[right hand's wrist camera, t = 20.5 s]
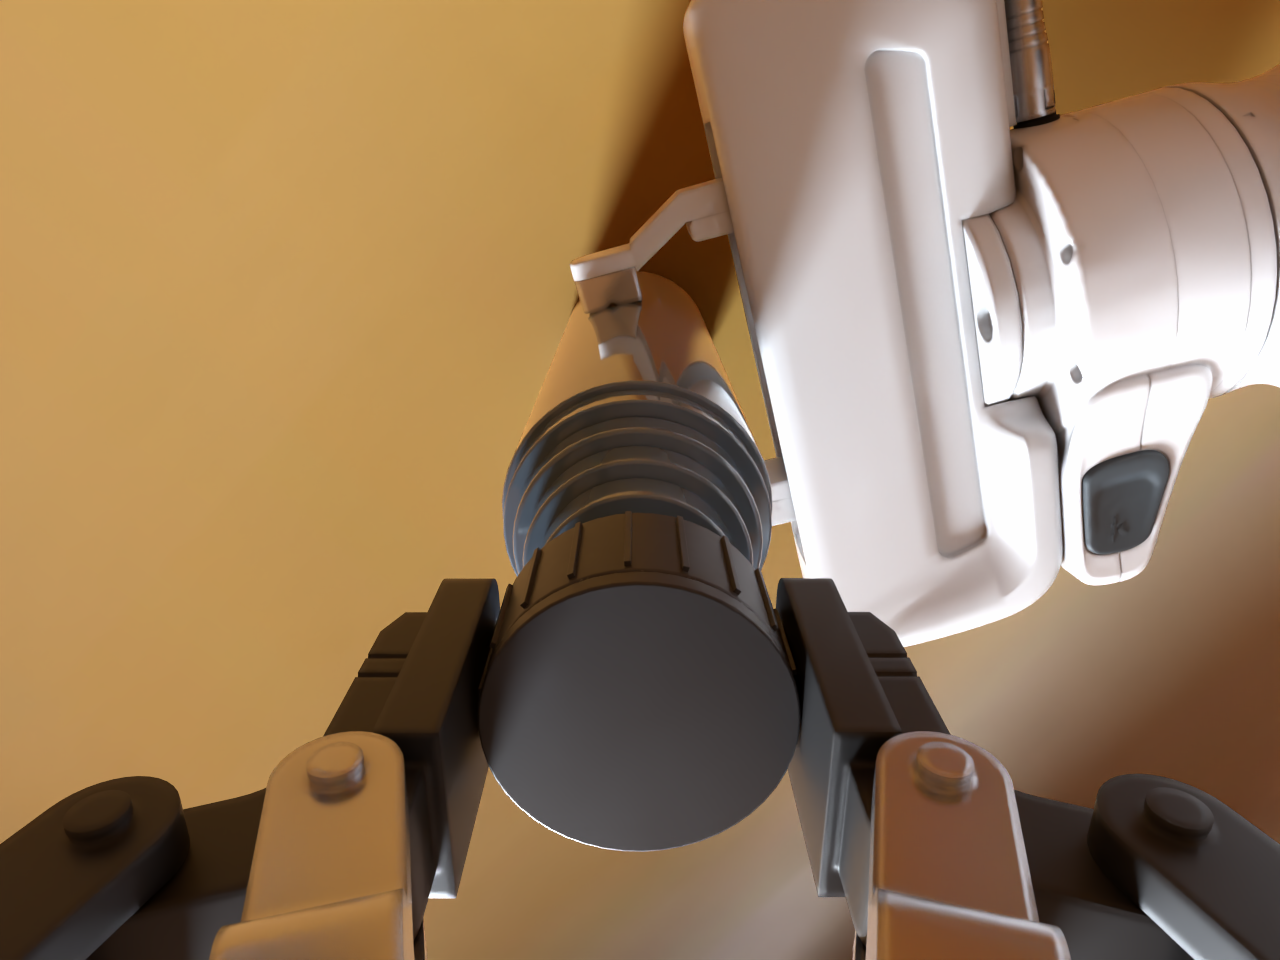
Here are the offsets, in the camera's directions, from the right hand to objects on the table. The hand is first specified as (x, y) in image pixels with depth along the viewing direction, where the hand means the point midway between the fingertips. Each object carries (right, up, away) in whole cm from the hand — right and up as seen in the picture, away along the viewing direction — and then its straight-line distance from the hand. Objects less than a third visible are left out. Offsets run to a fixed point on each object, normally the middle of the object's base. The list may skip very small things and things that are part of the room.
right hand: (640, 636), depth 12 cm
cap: (0, -1, -2) cm, 2 cm away
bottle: (0, +7, +19) cm, 21 cm away
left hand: (-1, +5, +14) cm, 14 cm away
